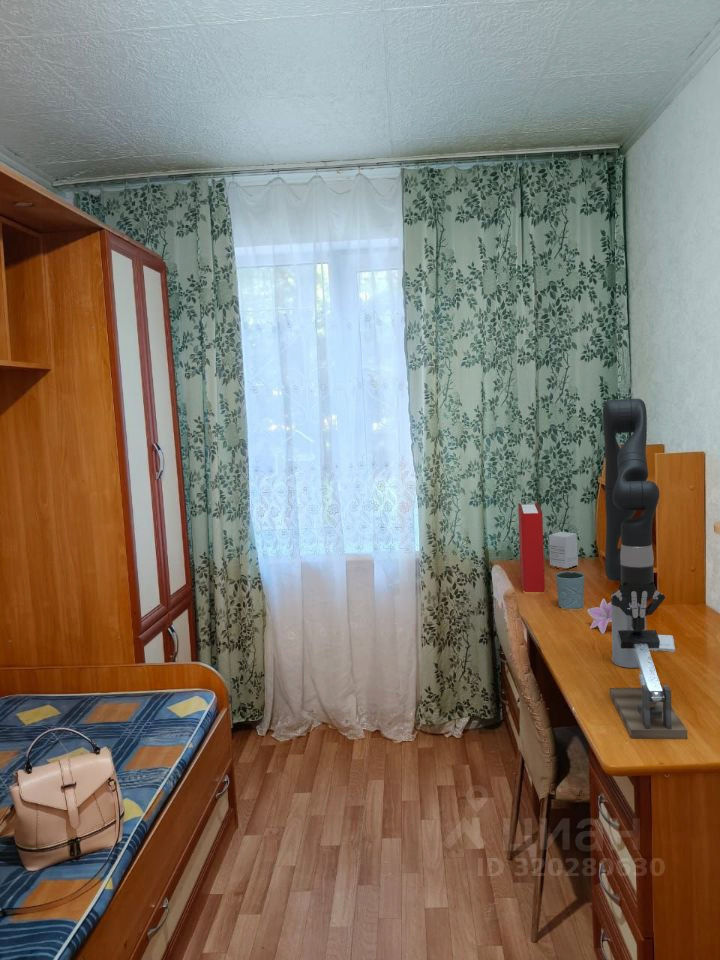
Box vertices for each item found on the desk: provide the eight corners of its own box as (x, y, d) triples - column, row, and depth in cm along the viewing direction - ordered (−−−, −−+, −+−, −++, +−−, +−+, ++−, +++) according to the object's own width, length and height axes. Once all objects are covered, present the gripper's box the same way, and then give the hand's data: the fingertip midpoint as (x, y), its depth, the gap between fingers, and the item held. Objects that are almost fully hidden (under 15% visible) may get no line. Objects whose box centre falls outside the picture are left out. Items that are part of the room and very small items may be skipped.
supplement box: (561, 563, 333) (560, 531, 332) (578, 566, 326) (577, 533, 325) (549, 567, 327) (548, 534, 326) (566, 570, 321) (565, 536, 319)
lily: (587, 625, 250) (578, 604, 246) (620, 611, 248) (611, 589, 244) (599, 647, 239) (590, 625, 235) (634, 632, 237) (625, 610, 233)
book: (520, 577, 314) (518, 502, 310) (539, 576, 312) (537, 502, 309) (523, 594, 287) (521, 513, 284) (545, 594, 286) (542, 512, 282)
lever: (616, 641, 185) (618, 630, 183) (654, 641, 184) (655, 629, 182) (635, 708, 168) (637, 696, 166) (677, 708, 166) (679, 696, 164)
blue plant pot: (582, 602, 272) (581, 570, 271) (588, 610, 262) (587, 577, 261) (554, 603, 273) (553, 571, 272) (558, 611, 263) (558, 578, 262)
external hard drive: (672, 640, 229) (675, 654, 217) (644, 638, 232) (645, 652, 220) (672, 635, 229) (675, 648, 217) (644, 633, 232) (645, 646, 220)
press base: (609, 695, 190) (608, 653, 189) (658, 695, 188) (657, 653, 187) (631, 738, 166) (630, 691, 165) (687, 738, 165) (686, 691, 164)
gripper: (661, 558, 183) (661, 626, 185) (605, 559, 184) (607, 627, 186) (669, 565, 175) (670, 635, 177) (611, 566, 177) (613, 636, 179)
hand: (637, 631), depth 182 cm, fingers closed
